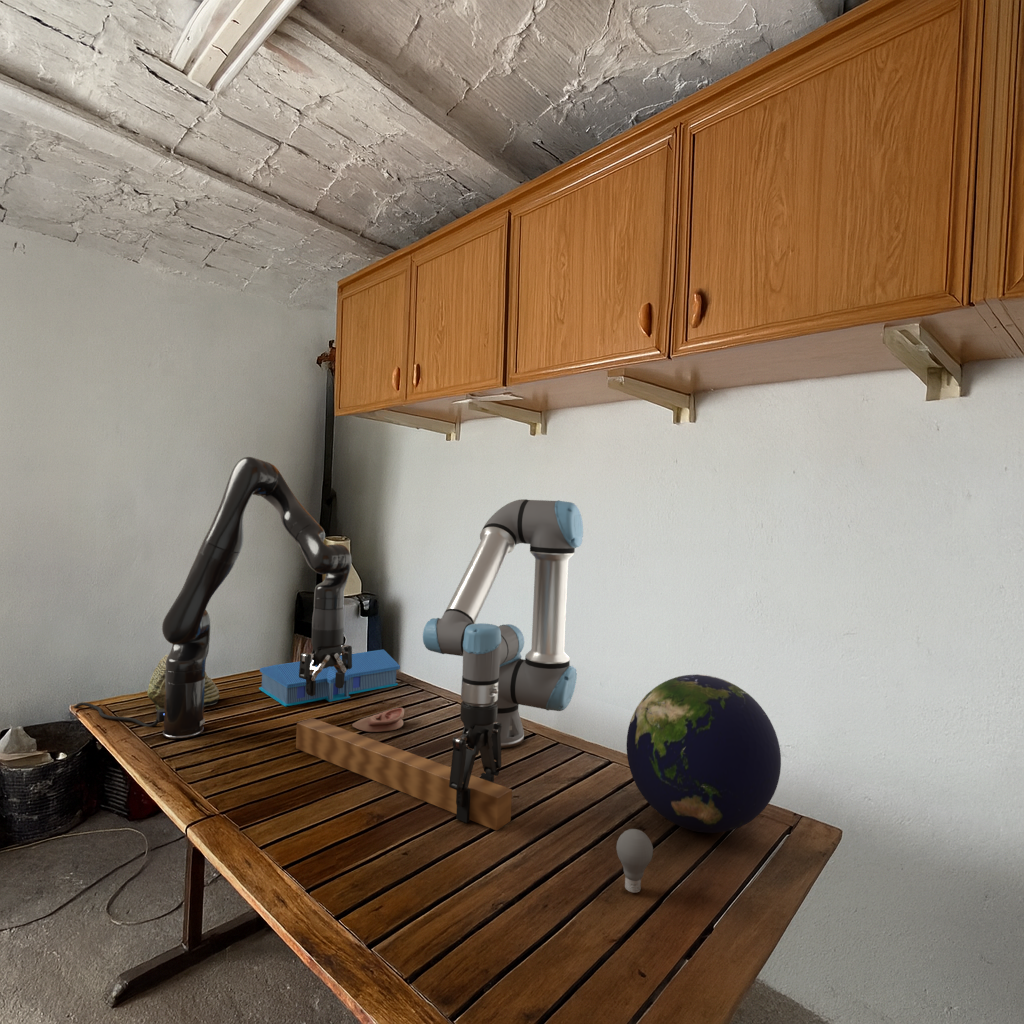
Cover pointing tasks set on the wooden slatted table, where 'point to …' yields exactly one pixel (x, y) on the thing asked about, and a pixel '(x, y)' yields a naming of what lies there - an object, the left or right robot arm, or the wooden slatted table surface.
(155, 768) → the wooden slatted table surface
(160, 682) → the fossil
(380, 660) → the model building
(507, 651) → the right robot arm
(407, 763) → the post
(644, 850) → the light bulb
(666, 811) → the globe
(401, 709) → the anatomical model
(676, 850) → the wooden slatted table surface
